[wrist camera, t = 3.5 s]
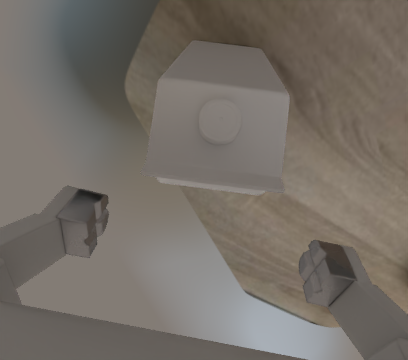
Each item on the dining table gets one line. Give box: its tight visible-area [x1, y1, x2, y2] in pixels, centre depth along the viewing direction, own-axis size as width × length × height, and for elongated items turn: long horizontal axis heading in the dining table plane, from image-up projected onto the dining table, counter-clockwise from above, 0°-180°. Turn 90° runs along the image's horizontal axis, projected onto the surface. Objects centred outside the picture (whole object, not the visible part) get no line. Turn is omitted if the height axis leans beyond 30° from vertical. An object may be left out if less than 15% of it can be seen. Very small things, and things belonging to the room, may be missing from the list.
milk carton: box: [141, 40, 290, 195], centre depth 20 cm, size 7×7×19 cm
